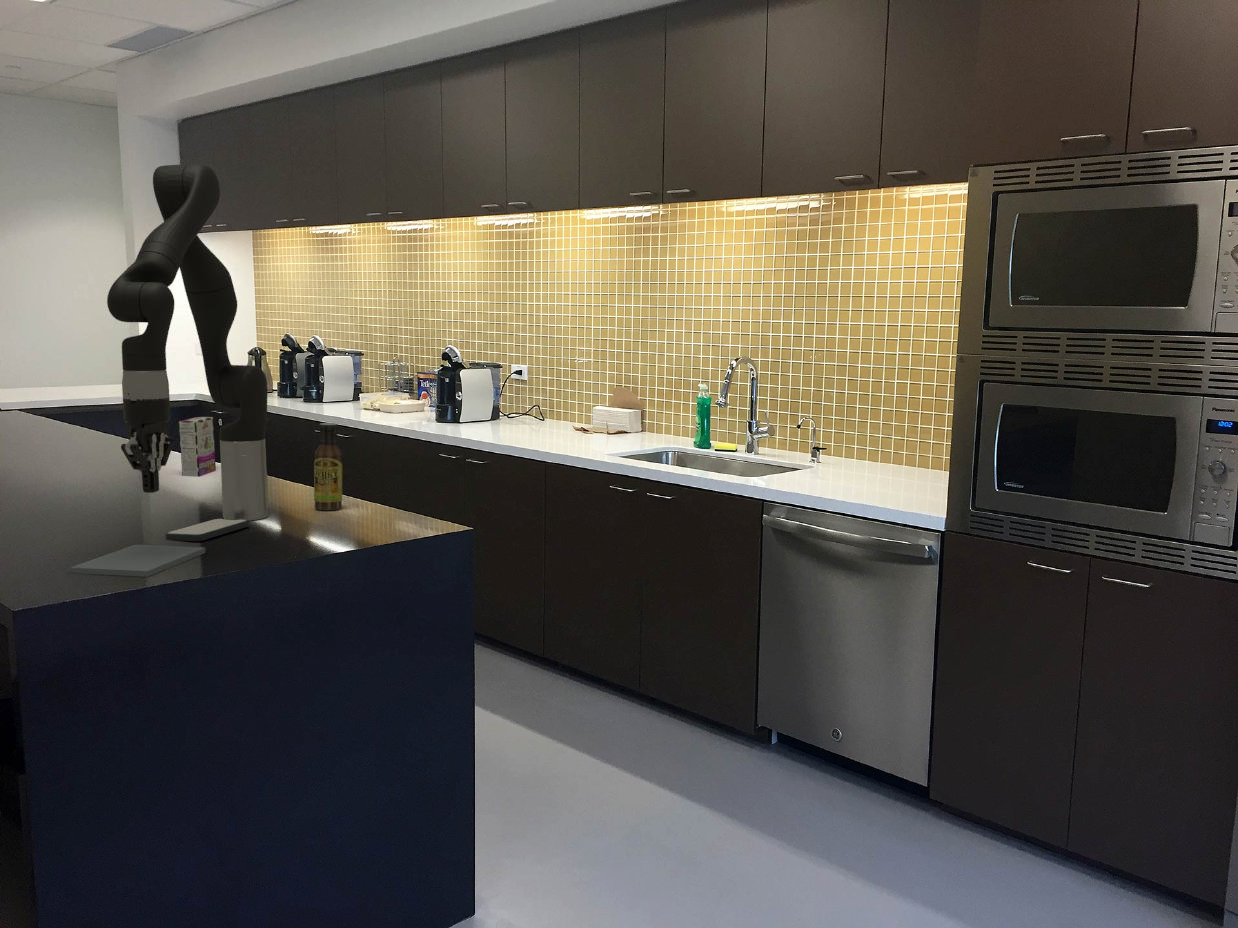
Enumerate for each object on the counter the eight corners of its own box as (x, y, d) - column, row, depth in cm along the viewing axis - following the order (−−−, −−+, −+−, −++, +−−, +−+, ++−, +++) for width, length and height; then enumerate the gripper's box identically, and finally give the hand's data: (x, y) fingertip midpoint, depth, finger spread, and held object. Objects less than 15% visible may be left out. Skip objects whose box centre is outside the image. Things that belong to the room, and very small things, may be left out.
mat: (135, 549, 184) (135, 544, 184) (205, 552, 183) (205, 547, 182) (70, 573, 167) (70, 567, 166) (147, 576, 165) (147, 571, 165)
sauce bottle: (311, 511, 224) (308, 424, 221) (318, 506, 230) (316, 422, 228) (339, 511, 224) (337, 425, 222) (346, 506, 231) (344, 422, 228)
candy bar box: (198, 475, 275) (196, 416, 272) (216, 475, 275) (214, 417, 272) (180, 481, 264) (177, 420, 261) (199, 481, 264) (196, 420, 261)
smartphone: (200, 543, 190) (252, 526, 206) (199, 535, 190) (252, 519, 205) (162, 541, 193) (216, 525, 208) (161, 533, 192) (216, 518, 208)
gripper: (148, 393, 182) (153, 485, 184) (102, 398, 169) (108, 497, 171) (186, 394, 181) (191, 487, 183) (143, 399, 168) (148, 498, 170)
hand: (151, 491), depth 177 cm, fingers closed
